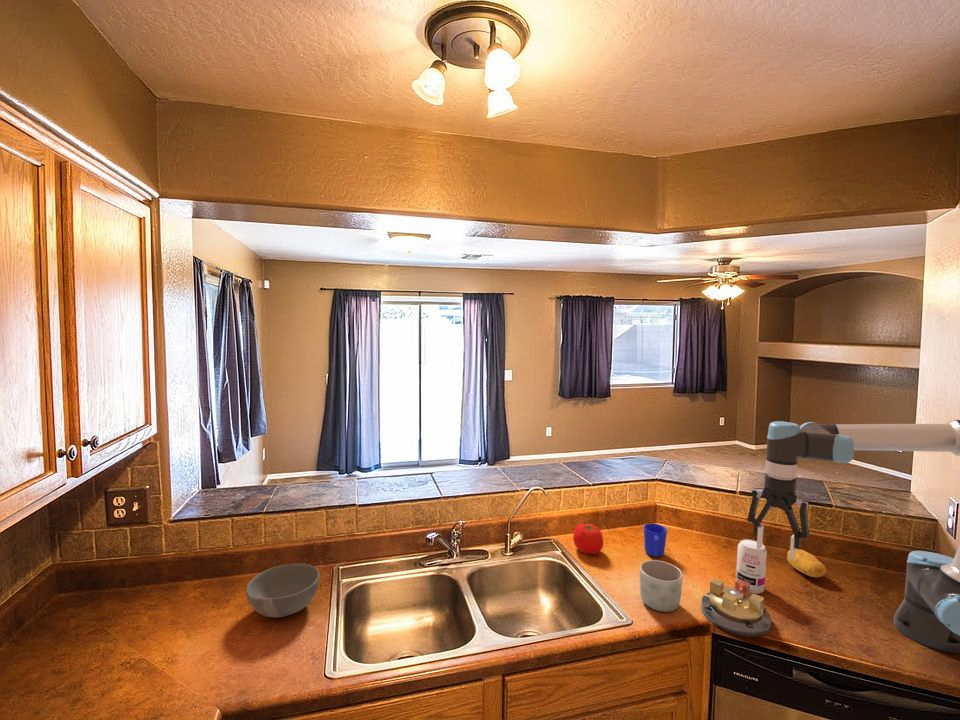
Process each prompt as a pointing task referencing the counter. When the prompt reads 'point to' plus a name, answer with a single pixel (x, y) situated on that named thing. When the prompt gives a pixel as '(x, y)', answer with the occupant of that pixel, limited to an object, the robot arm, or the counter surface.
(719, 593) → the brass disc with cubes
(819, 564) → the potato
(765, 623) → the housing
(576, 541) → the tomato
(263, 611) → the bowl
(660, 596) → the planter
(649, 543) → the mug
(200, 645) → the counter surface
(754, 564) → the supplement can
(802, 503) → the robot arm
